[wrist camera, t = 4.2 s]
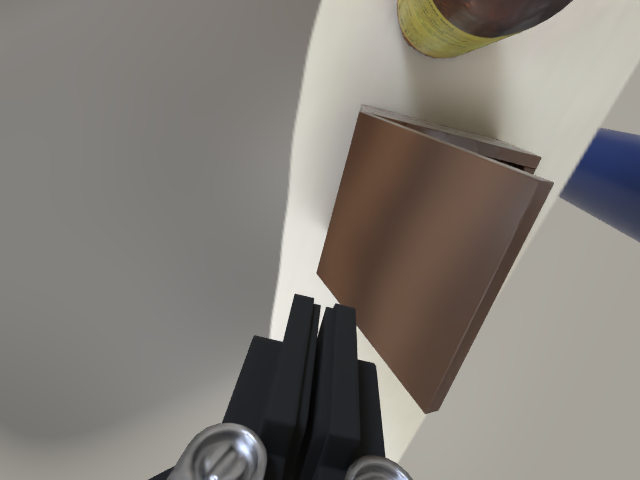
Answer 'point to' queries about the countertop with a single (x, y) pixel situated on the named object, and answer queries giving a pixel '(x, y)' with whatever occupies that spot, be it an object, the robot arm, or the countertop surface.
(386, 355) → the hatch
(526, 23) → the sauce bottle
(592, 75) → the countertop surface
